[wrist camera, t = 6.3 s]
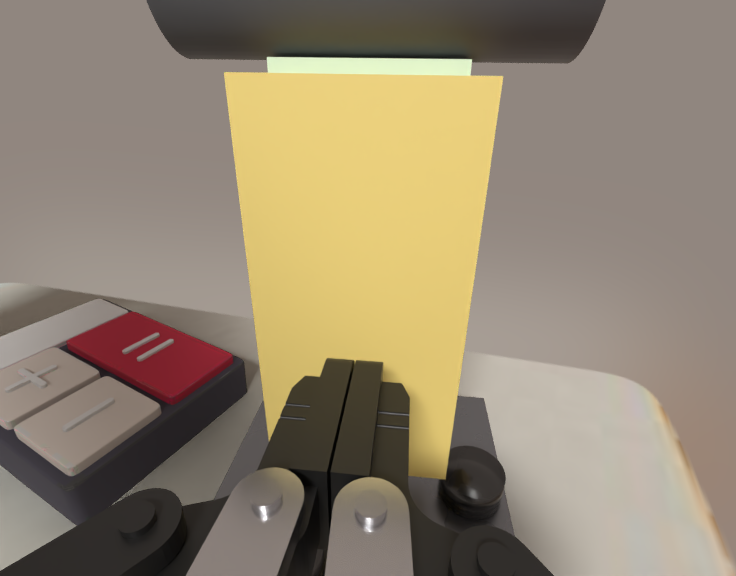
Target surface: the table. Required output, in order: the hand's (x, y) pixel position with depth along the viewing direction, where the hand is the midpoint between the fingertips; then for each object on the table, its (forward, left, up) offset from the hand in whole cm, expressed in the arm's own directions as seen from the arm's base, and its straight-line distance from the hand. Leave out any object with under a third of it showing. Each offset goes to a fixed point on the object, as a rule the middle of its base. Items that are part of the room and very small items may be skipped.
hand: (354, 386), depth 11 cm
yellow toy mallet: (0, +4, -6) cm, 7 cm away
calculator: (-18, +10, -12) cm, 23 cm away
